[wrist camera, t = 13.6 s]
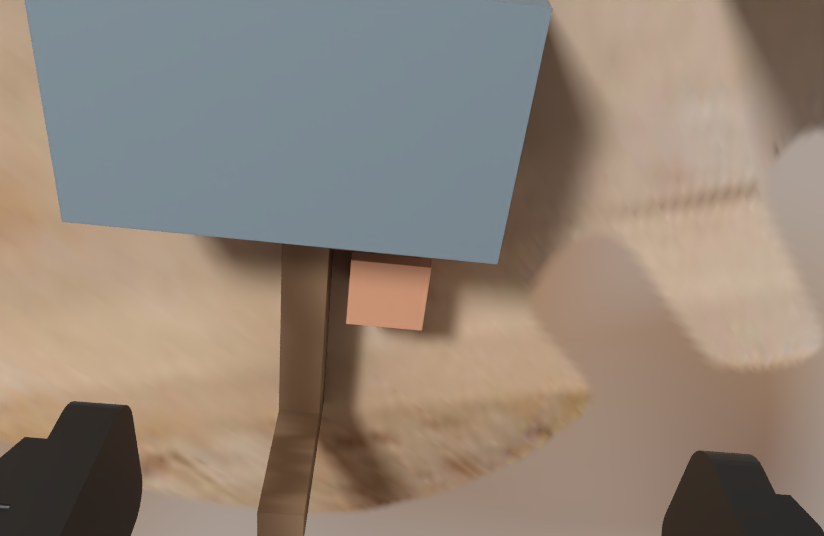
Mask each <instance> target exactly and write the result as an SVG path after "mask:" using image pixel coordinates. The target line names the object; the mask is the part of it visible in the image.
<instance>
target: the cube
mask: <svg viewBox="0 0 824 536" xmlns="http://www.w3.org/2000/svg"><path fill="white" fill-rule="evenodd" d="M430 274H431V258H427V257H421V258H415V257H404V256H394V255H383V254H373V253H363V252H352V257H351V268H350V281H349V293H348V305H347V318H346V324H354V325H366V326H377V327H388V328H399V329H410V330H421V331H422V326H423V320H424V313H425V307H426V300H427V294H428V287H429V281H430Z"/></svg>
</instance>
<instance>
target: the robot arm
mask: <svg viewBox="0 0 824 536" xmlns="http://www.w3.org/2000/svg"><path fill="white" fill-rule="evenodd" d="M141 494H142V474H141V467H140V461H139V454H138V448H137V441H136V435H135V428H134V422H133V415H132V411H131V409H130V407H129V406H127V405H116V404H103V403H89V402H76V401H73V402H70V403H69V404H68V405H67V406H66V407H65V409H64V410H63V412H62V413H61V415H60V417H59V419H58V421H57V422H56V424H55V426H54V428H53V430H52V431H51V433H50V435H49V437H48V439H43V438H29V437H24V438H23V439H22V440H21V441H20V442H18V443H17V444H16V445H15V446H14V447H12V448H11V449H10V450H9V451H8V452H7V453H5V454H4V455H3V456H2V457H1V458H0V536H131V533H132V531H133V528H134V525H135V522H136V519H137V516H138V512H139V508H140V502H141ZM662 536H824V532H823V530H822V528H821V527H820V526H819V525H818V524H817V523H816V522H815V520H814V519H813V518H811V516H810V515H809V514H808V513H807V512H806V511H805V510H804V509H803V508H802V507H801V506H800V505H799V504H798V503H797V502H796V501H795V500H794V499H793V498H792V497H791V496H790V495H780V494H775V492H774V490H773V488H772V486H771V484H770V482H769V480H768V478H767V476H766V473H765V471H764V469H763V468H762V466H761V464H760V462H759V461H758V460H757V459H756V458H755V457H754V456H752V455H750V454H738V453H724V452H710V451H697V452H695V453H694V454H693V455H692V457H691V459H690V461H689V463H688V465H687V467H686V469H685V472H684V474H683V476H682V478H681V481H680V483H679V485H678V487H677V490H676V492H675V494H674V496H673V499H672V501H671V503H670V505H669V508H668V510H667V512H666V514H665V517H664V521H663V526H662Z"/></svg>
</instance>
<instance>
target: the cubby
mask: <svg viewBox="0 0 824 536" xmlns="http://www.w3.org/2000/svg"><path fill="white" fill-rule="evenodd" d="M25 5H26V11H27V17H28V23H29V29H30V35H31V41H32V47H33V53H34V59H35V64H36V70H37V76H38V82H39V88H40V94H41V100H42V106H43V112H44V118H45V124H46V129H47V135H48V141H49V147H50V153H51V159H52V165H53V171H54V177H55V183H56V189H57V194H58V200H59V206H60V212H61V218H62V222H69V223H80V224H90V225H100V226H110V227H120V228H131V229H141V230H151V231H161V232H172V233H182V234H192V235H202V236H212V237H223V238H233V239H243V240H253V241H263V242H274V243H284V244H294V245H304V246H315V247H325V248H335V249H345V250H355V251H366V252H376V253H386V254H396V255H406V256H417V257H427V258H437V259H447V260H458V261H468V262H478V263H488V264H498V260H499V255H500V250H501V246H502V241H503V236H504V232H505V227H506V222H507V218H508V213H509V208H510V204H511V199H512V194H513V190H514V185H515V180H516V176H517V171H518V166H519V162H520V157H521V152H522V148H523V143H524V138H525V134H526V129H527V124H528V120H529V115H530V110H531V106H532V101H533V97H534V92H535V87H536V83H537V78H538V73H539V69H540V64H541V59H542V55H543V50H544V45H545V41H546V36H547V31H548V27H549V22H550V17H551V13H552V7H551V5H550V4H549V2H548V0H25Z"/></svg>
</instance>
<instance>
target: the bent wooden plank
mask: <svg viewBox="0 0 824 536" xmlns="http://www.w3.org/2000/svg"><path fill="white" fill-rule="evenodd" d="M333 250H342V251H352V252H363V253H373V254H383V255H394V256H404V257H415V258H421V257H417V256H406V255H396V254H386V253H376V252H366V251H355V250H345V249H335V248H325V247H315V246H304V245H294V244H284V243H282V280H281V334H280V388H279V413H278V418H277V422H276V427H275V432H274V436H273V441H272V446H271V451H270V455H269V460H268V465H267V469H266V474H265V479H264V483H263V488H262V493H261V498H260V502H259V507H258V512H257V527H258V528H257V529H258V530H257V531H258V532H257V536H304V534H305V527H306V520H307V513H308V506H309V499H310V492H311V485H312V478H313V472H314V465H315V458H316V451H317V444H318V437H319V430H320V423H321V416H322V409H323V401H324V385H325V370H326V354H327V338H328V323H329V307H330V291H331V276H332V260H333Z"/></svg>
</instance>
